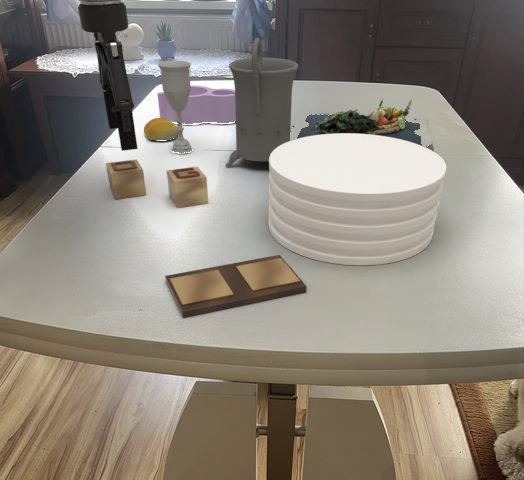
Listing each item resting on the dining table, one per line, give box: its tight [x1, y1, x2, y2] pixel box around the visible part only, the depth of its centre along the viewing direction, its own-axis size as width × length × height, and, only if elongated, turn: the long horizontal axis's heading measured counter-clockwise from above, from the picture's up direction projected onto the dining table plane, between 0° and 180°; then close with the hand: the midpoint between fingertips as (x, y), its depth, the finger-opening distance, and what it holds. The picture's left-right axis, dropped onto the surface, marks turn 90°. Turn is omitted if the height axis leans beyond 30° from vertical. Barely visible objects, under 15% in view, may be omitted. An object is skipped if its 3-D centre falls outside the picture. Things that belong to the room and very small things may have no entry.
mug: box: [225, 37, 299, 168], centre depth 111 cm, size 19×15×25 cm
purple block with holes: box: [157, 84, 236, 124], centre depth 144 cm, size 20×12×7 cm, turn 81°
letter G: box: [166, 166, 209, 209], centre depth 102 cm, size 6×6×5 cm
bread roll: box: [143, 117, 179, 141], centre depth 133 cm, size 8×9×4 cm
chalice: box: [157, 60, 193, 153], centre depth 120 cm, size 7×7×18 cm
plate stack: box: [268, 133, 447, 266], centre depth 91 cm, size 28×28×12 cm
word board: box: [164, 254, 308, 319], centre depth 78 cm, size 18×10×1 cm, turn 111°
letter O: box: [105, 159, 147, 200], centre depth 105 cm, size 6×6×5 cm
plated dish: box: [297, 99, 435, 152], centre depth 136 cm, size 35×28×7 cm
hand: (122, 138), depth 101 cm, fingers open, 13 cm apart
